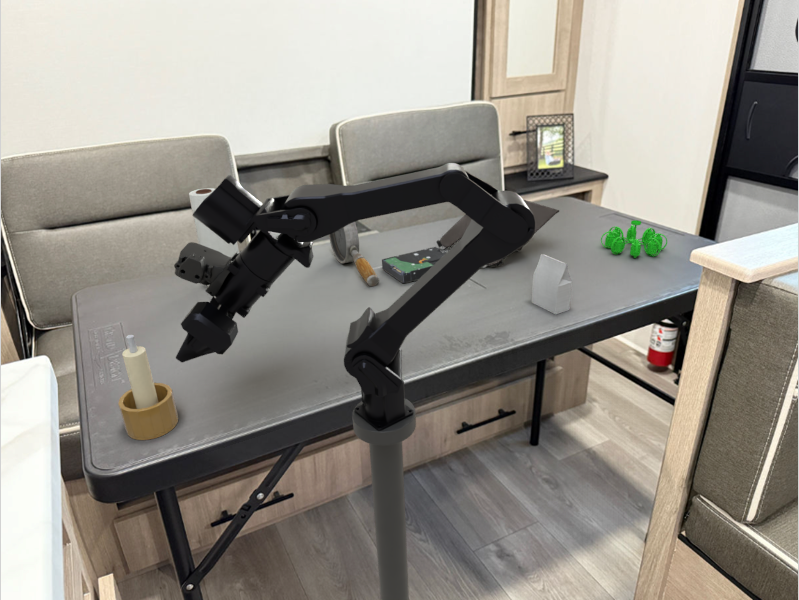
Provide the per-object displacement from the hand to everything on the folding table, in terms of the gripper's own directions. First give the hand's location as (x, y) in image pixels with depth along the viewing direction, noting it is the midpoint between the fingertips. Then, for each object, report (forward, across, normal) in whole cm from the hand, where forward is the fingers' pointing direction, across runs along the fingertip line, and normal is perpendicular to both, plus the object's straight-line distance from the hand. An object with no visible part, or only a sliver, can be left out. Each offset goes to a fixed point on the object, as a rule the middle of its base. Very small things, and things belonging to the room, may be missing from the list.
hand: (190, 342), depth 83 cm
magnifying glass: (-3, -58, +22) cm, 62 cm away
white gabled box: (-32, -35, +51) cm, 69 cm away
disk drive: (-14, -56, +33) cm, 67 cm away
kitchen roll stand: (+15, 0, +4) cm, 15 cm away
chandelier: (-50, -65, +70) cm, 108 cm away
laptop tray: (-26, -68, +46) cm, 86 cm away
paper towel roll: (+18, -52, +2) cm, 55 cm away
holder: (+15, 0, +4) cm, 16 cm away
